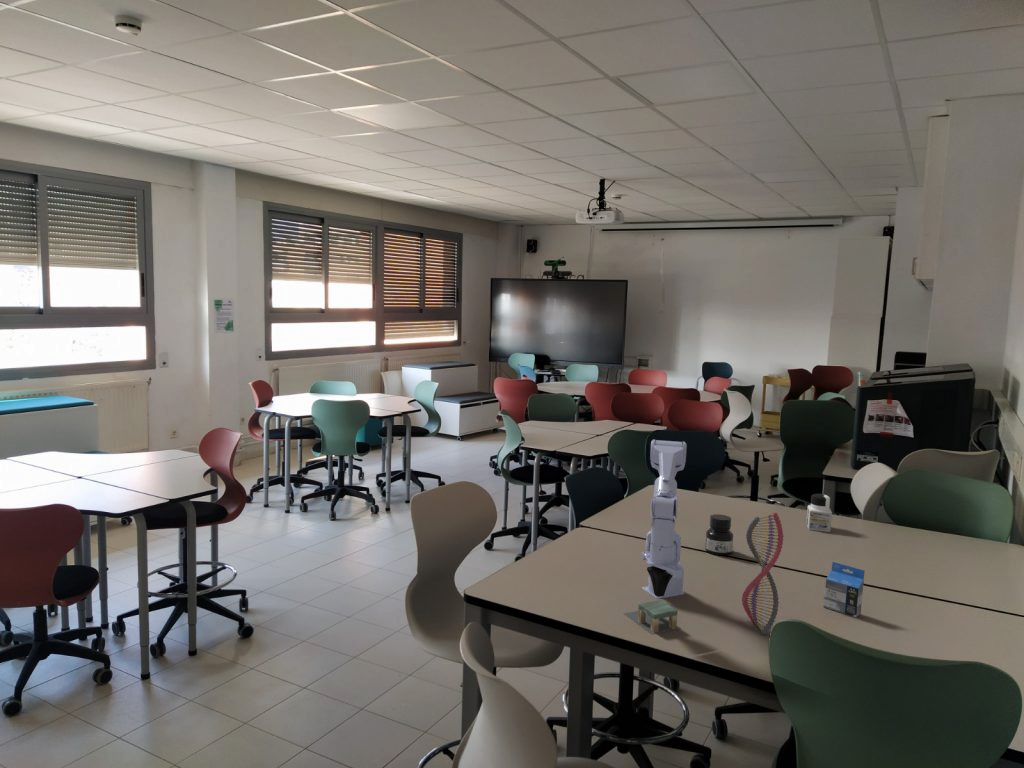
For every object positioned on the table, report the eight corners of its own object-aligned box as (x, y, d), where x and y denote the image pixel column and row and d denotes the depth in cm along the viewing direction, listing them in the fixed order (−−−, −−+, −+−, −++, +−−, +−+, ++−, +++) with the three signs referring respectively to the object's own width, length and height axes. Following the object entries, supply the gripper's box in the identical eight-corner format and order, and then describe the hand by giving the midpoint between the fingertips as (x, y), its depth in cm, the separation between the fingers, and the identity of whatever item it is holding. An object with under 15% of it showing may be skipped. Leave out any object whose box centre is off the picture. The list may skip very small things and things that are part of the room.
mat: (651, 609, 191) (651, 608, 191) (681, 629, 179) (681, 628, 179) (623, 614, 187) (623, 613, 187) (651, 635, 176) (651, 634, 176)
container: (808, 530, 267) (810, 496, 265) (806, 524, 274) (808, 491, 273) (830, 532, 264) (833, 498, 263) (827, 526, 272) (830, 493, 270)
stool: (638, 603, 182) (654, 614, 176) (660, 600, 185) (677, 610, 179) (637, 621, 183) (653, 632, 177) (659, 616, 186) (676, 628, 179)
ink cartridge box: (822, 607, 196) (826, 564, 195) (828, 603, 199) (831, 561, 197) (856, 618, 190) (859, 573, 188) (861, 614, 192) (865, 570, 191)
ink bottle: (704, 554, 236) (706, 519, 235) (703, 545, 245) (705, 512, 243) (734, 557, 234) (736, 522, 233) (732, 549, 242) (734, 515, 241)
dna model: (768, 620, 186) (776, 509, 183) (782, 636, 177) (791, 520, 174) (735, 620, 186) (742, 509, 183) (747, 635, 177) (755, 519, 174)
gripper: (632, 536, 183) (630, 587, 185) (666, 555, 170) (663, 609, 172) (655, 533, 186) (652, 583, 188) (690, 551, 173) (687, 604, 175)
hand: (659, 595), depth 180 cm, fingers closed
